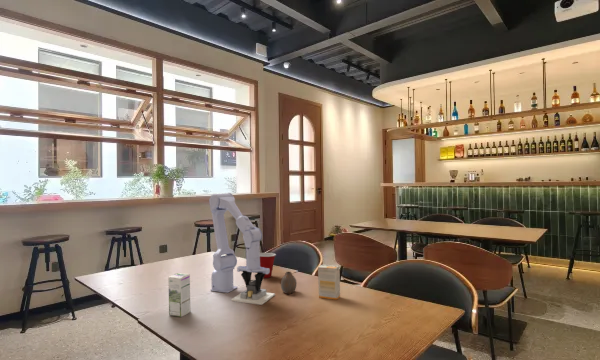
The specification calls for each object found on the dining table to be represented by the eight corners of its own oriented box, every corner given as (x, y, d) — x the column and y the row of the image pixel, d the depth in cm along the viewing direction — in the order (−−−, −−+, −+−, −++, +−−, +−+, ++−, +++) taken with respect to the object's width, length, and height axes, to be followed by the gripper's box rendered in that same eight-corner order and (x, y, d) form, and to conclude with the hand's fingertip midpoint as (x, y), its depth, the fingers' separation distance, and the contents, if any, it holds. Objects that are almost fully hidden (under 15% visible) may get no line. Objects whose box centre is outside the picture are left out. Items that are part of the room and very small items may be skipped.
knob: (251, 291, 144) (251, 278, 144) (259, 292, 143) (259, 279, 143) (245, 296, 139) (244, 282, 139) (253, 297, 138) (253, 283, 138)
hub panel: (231, 300, 139) (231, 294, 139) (246, 292, 150) (246, 285, 150) (261, 304, 134) (261, 297, 134) (274, 295, 145) (274, 288, 145)
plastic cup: (280, 275, 176) (280, 252, 176) (267, 280, 167) (267, 256, 167) (264, 272, 182) (264, 250, 182) (251, 277, 173) (250, 254, 173)
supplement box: (340, 296, 142) (340, 265, 142) (337, 300, 137) (336, 268, 137) (322, 294, 145) (321, 263, 145) (318, 297, 141) (317, 266, 141)
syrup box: (191, 311, 128) (190, 273, 128) (181, 317, 122) (180, 277, 122) (178, 310, 130) (178, 272, 130) (168, 315, 124) (167, 276, 124)
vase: (294, 294, 145) (294, 274, 145) (279, 294, 146) (278, 274, 146) (298, 289, 152) (297, 270, 152) (283, 289, 153) (282, 269, 153)
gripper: (233, 258, 141) (233, 290, 141) (263, 260, 136) (264, 294, 135) (241, 254, 147) (242, 285, 147) (271, 256, 142) (272, 289, 142)
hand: (253, 289), depth 142 cm, fingers closed on knob, 4 cm apart
